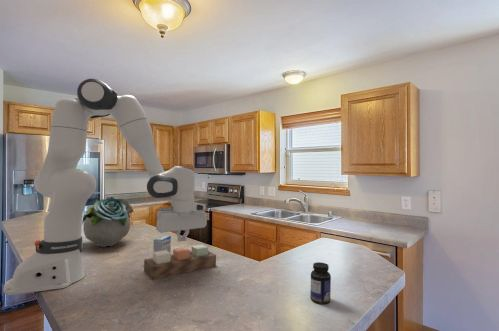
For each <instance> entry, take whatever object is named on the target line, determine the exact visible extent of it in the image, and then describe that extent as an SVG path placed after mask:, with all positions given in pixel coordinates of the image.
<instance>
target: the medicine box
mask: <svg viewBox="0 0 499 331" xmlns="http://www.w3.org/2000/svg"><path fill="white" fill-rule="evenodd" d="M171 239H172V236H171V235H167V234H165V235H161V236H159V237H158V236H157V237H156V238H154V239H153V246H152V247H153V249H152V250H153V251H152V253H153V252H158V251H165V250H166V251H168V252H169V253H171V248H172V247H171V245H172V244H171V241H172V240H171Z"/></svg>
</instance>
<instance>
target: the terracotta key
mask: <svg viewBox="0 0 499 331" xmlns="http://www.w3.org/2000/svg"><path fill="white" fill-rule="evenodd" d="M190 252H191V249H189V248H187V247H186V246H184V247H178V248H173V249H172V255H173V258H174V259H176V260H177V261H178V260H183V259H189V258H190Z"/></svg>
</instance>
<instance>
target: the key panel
mask: <svg viewBox="0 0 499 331" xmlns="http://www.w3.org/2000/svg"><path fill="white" fill-rule="evenodd" d="M143 262H144V264H143V265H144V266H143V272H144V273H145V274H146V275H147V276H148V277H149V278H150V279H151V280H152V281H153V280H154V281H155V280H158V279H162V278H163V279H164V278H166V277H171V276H177V275H181V274H186V273H190V272H195V271H199V270H200V271H201V270H205V269H208V268H214V267H216V266H217V254H215V253H212V252H210V251H209V250H208V255H205V256H200V257H195V256H194V255H192V254H191V251H190V258H189V259H183V260H178V261H177V260H176V259H174V258H173V254H171V260H170V262H167V263H162V264H155V263H154V262H153V257H151V258H144V260H143Z"/></svg>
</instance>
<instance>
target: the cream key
mask: <svg viewBox="0 0 499 331" xmlns="http://www.w3.org/2000/svg"><path fill="white" fill-rule="evenodd" d="M171 255H172V254H171V252H170V253H169V252H168V251H166V250H165V251H158V252H153V251H152V258H153V262H154V263H155V264H162V263H167V262H170V260H171Z"/></svg>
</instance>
